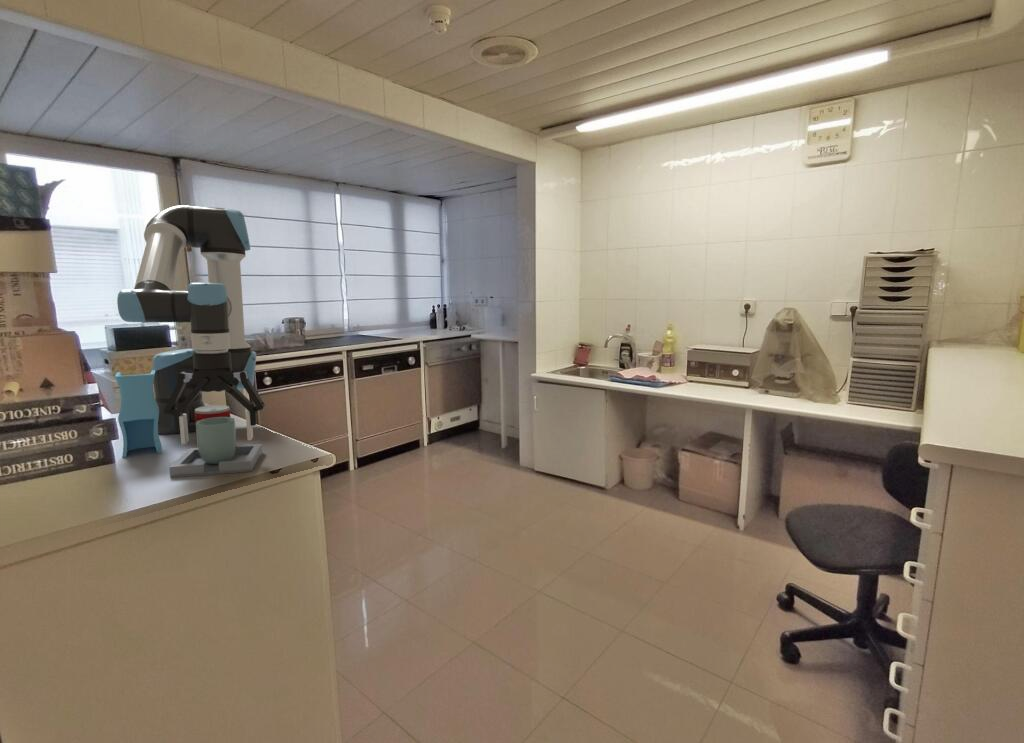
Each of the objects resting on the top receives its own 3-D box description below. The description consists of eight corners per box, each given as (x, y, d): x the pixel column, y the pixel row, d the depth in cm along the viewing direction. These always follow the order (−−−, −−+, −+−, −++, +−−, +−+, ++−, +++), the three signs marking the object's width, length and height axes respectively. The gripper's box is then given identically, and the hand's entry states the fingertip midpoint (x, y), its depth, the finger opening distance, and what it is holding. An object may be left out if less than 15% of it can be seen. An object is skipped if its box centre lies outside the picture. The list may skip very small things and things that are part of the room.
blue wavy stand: (162, 444, 132) (155, 370, 129) (161, 452, 125) (154, 374, 122) (124, 449, 127) (116, 372, 124) (122, 457, 121) (113, 376, 118)
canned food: (217, 455, 124) (214, 412, 122) (189, 452, 126) (186, 410, 124) (239, 446, 132) (236, 405, 130) (213, 444, 133) (210, 404, 131)
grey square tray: (190, 457, 122) (189, 448, 121) (262, 452, 126) (261, 443, 126) (170, 477, 108) (169, 467, 108) (251, 471, 113) (250, 461, 113)
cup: (210, 469, 112) (206, 426, 111) (192, 463, 116) (189, 421, 115) (244, 460, 119) (241, 419, 117) (226, 454, 123) (223, 415, 121)
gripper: (141, 353, 106) (150, 449, 110) (269, 352, 114) (273, 441, 117) (154, 349, 113) (162, 439, 117) (274, 348, 121) (278, 432, 124)
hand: (218, 440), depth 117 cm, fingers open, 13 cm apart
